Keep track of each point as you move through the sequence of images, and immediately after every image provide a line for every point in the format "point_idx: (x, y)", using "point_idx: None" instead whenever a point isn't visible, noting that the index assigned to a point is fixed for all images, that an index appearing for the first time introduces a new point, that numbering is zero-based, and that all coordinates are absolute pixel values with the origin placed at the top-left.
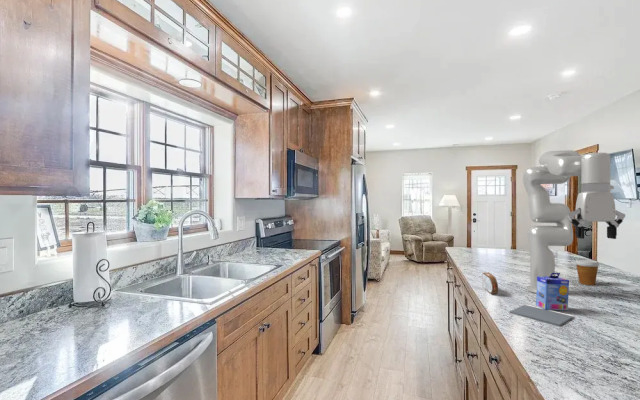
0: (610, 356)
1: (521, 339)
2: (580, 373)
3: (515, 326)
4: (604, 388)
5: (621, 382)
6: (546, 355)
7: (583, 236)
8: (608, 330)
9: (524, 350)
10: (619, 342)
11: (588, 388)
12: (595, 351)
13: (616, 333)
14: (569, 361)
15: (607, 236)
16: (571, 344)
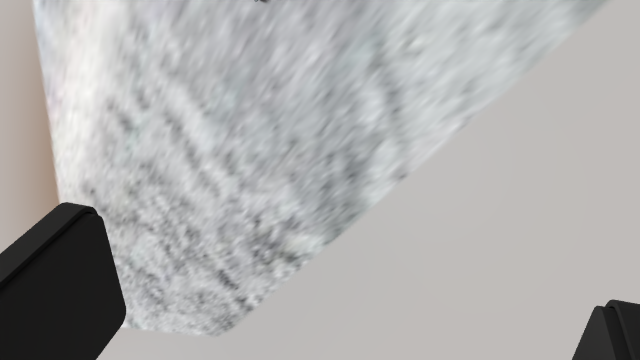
0: (280, 224)
1: (85, 124)
2: (163, 280)
3: (87, 13)
4: (180, 321)
5: (223, 310)
6: (123, 212)
7: (99, 339)
8: (447, 33)
9: (79, 188)
10: (387, 144)
11: (153, 318)
12: (259, 198)
13: (453, 65)
14: (164, 239)
15: (601, 326)
16: (216, 157)
